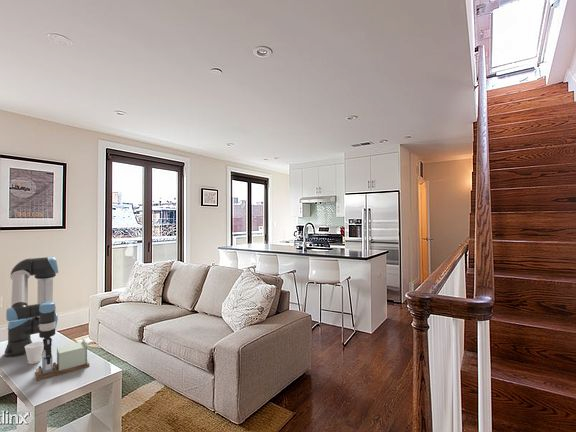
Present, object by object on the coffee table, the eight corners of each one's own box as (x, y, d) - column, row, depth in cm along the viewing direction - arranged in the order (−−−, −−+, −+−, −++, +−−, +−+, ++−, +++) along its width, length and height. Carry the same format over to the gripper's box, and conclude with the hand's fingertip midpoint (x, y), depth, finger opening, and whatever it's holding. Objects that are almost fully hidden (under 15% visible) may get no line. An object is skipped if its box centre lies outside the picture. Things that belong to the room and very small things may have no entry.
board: (35, 371, 184) (35, 363, 184) (85, 358, 201) (85, 351, 201) (37, 380, 173) (37, 372, 173) (89, 366, 190) (89, 359, 190)
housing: (56, 364, 190) (56, 342, 190) (83, 357, 199) (83, 337, 199) (58, 370, 181) (58, 348, 181) (87, 363, 190) (87, 342, 190)
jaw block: (51, 367, 185) (51, 354, 185) (52, 370, 182) (52, 357, 182) (42, 370, 182) (42, 356, 182) (42, 373, 179) (42, 359, 179)
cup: (33, 366, 190) (33, 348, 190) (20, 365, 192) (20, 347, 192) (48, 359, 200) (48, 342, 200) (36, 357, 202) (36, 341, 202)
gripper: (38, 325, 189) (38, 359, 189) (40, 337, 170) (40, 375, 170) (53, 322, 194) (53, 356, 194) (57, 333, 175) (57, 370, 175)
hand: (47, 365), depth 182 cm, fingers open, 13 cm apart
